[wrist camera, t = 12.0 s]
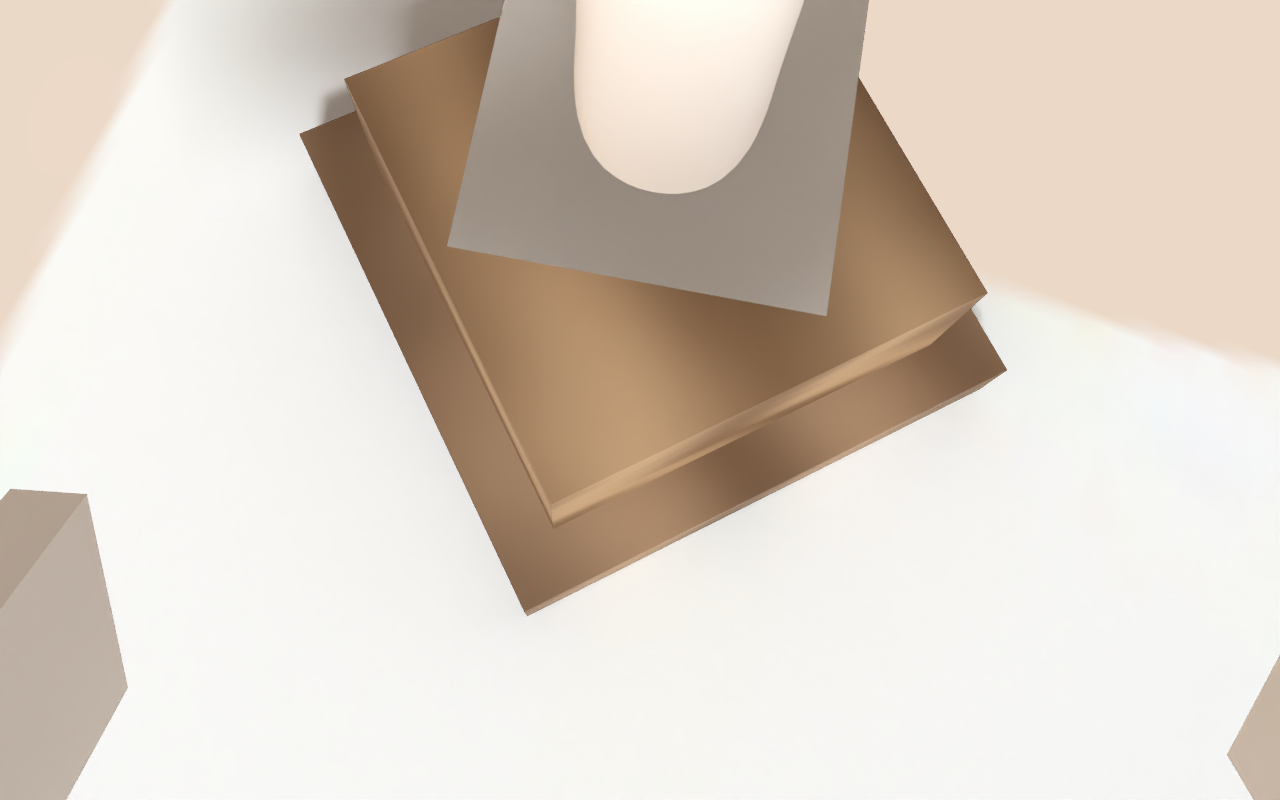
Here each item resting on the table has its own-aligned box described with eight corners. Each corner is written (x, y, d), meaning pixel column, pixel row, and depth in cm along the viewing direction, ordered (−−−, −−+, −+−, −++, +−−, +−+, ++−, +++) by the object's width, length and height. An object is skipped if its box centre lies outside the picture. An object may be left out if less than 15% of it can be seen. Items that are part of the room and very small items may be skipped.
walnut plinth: (746, -9, 33) (784, -155, 27) (979, 389, 30) (1076, 322, 25) (316, 168, 31) (257, 50, 25) (527, 615, 28) (516, 601, 22)
